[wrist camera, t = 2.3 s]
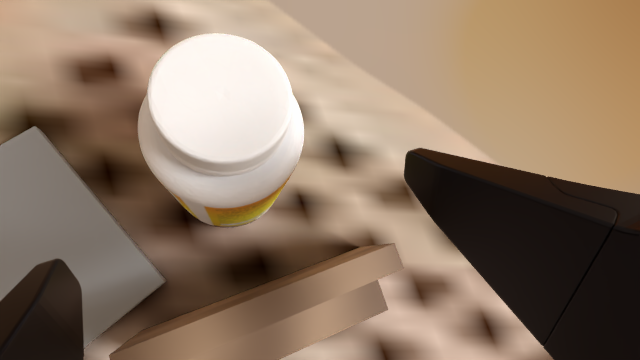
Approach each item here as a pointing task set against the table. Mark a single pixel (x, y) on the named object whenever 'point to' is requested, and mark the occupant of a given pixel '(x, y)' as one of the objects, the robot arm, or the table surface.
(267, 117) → the supplement bottle
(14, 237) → the slate grey mat
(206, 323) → the brown wooden block
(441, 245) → the table surface
